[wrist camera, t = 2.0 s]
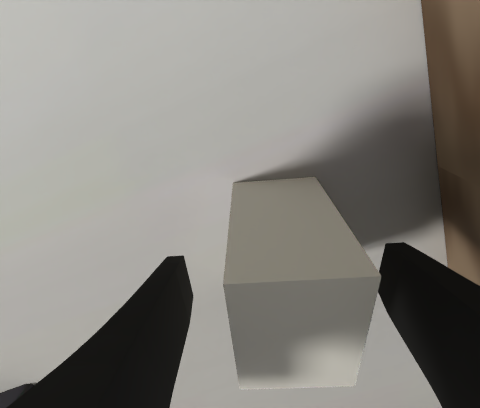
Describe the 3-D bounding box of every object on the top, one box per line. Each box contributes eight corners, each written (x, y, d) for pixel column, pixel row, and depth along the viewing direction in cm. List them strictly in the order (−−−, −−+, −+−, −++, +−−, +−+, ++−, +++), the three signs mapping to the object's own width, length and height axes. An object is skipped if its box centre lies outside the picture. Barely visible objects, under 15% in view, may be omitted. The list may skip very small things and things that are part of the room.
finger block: (315, 176, 11) (381, 276, 6) (310, 261, 13) (354, 389, 8) (233, 182, 11) (223, 284, 6) (241, 265, 13) (240, 393, 8)
